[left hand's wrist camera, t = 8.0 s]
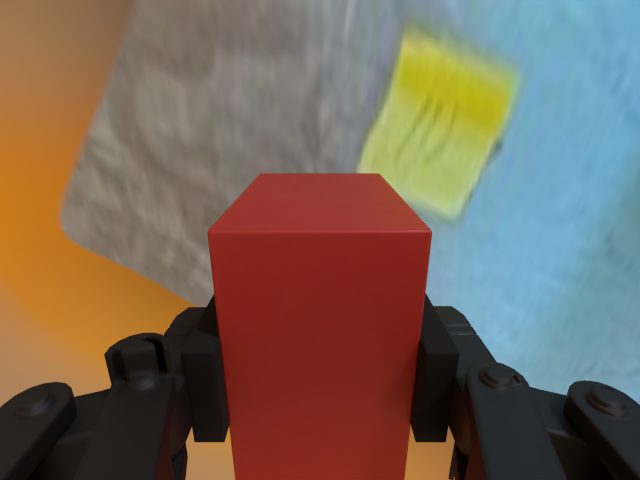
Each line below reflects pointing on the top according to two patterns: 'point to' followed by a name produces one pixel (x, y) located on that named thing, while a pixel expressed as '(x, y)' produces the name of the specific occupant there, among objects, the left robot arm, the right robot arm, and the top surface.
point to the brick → (319, 325)
